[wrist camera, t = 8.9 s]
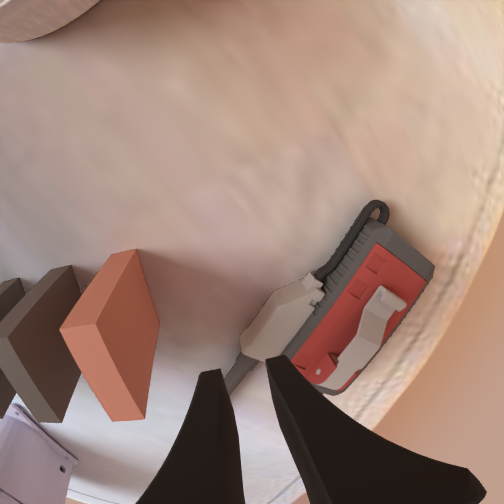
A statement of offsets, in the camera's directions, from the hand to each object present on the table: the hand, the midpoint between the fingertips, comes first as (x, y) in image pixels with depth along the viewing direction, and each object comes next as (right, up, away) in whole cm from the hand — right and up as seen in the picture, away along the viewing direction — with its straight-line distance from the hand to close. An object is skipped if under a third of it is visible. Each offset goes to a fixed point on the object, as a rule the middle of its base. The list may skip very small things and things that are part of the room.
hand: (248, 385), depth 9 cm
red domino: (-7, +2, +8) cm, 11 cm away
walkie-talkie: (+4, -1, +12) cm, 13 cm away
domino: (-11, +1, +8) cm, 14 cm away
